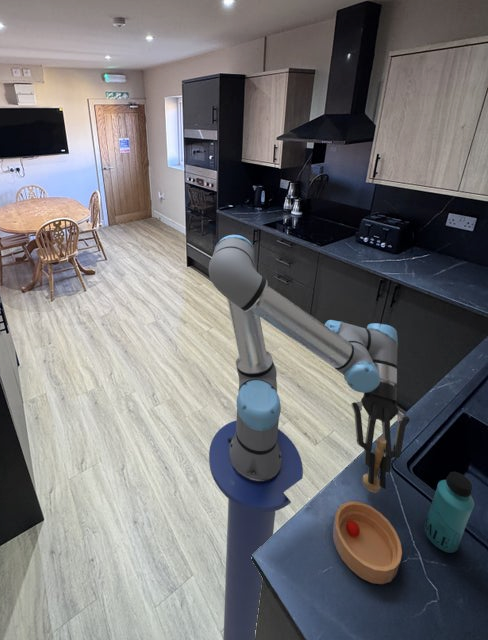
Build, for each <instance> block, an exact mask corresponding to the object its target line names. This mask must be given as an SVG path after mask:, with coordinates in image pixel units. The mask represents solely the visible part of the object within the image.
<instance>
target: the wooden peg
mask: <svg viewBox="0 0 488 640" xmlns="http://www.w3.org/2000/svg"><path fill="white" fill-rule="evenodd" d="M375 444H376V445H375V449H374V452H373V453H374V454H375V465H374V485H373V484H370V483H369V482H368V473H365V474H363V476H362V485H363V486H364V487H365V489H366V490H368V491H369V492H371V493H377V494H378V493H379V492H380V490H381V489H382V487H381V486H379V485H380V478H378V477H379V475H380V466H381V462H382V458H383V456H384V450H385V446H386V440H385V439H384V438H383V436H379V437H377V441H376V443H375Z"/></svg>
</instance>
